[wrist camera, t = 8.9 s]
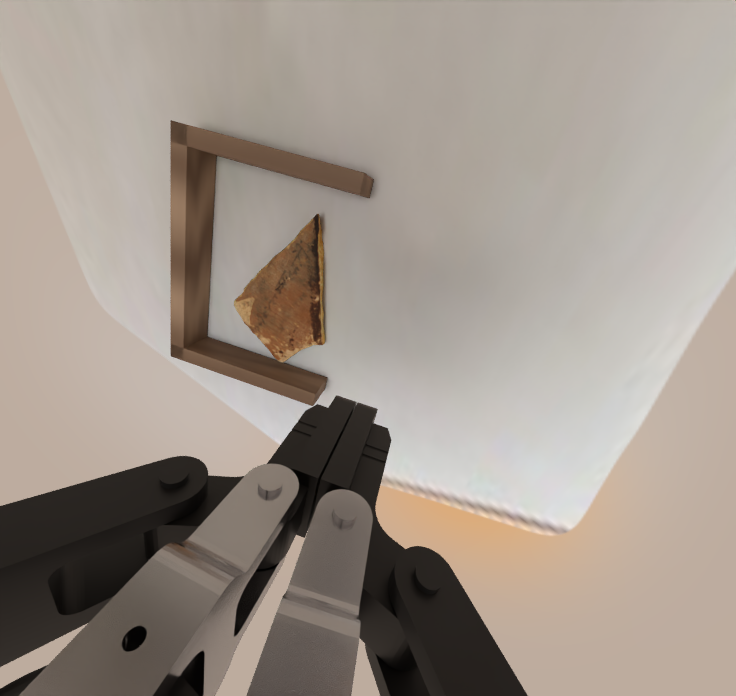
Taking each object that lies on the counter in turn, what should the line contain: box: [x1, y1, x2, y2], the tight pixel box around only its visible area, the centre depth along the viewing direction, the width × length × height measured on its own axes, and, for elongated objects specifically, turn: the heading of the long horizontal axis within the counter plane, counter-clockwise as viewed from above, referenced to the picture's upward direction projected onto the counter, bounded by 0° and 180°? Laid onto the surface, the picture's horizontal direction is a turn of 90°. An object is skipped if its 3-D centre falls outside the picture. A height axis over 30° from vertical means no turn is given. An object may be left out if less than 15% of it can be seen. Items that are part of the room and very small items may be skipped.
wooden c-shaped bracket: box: [171, 121, 374, 406], centre depth 25 cm, size 17×13×3 cm
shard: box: [234, 214, 325, 362], centre depth 26 cm, size 11×8×2 cm
